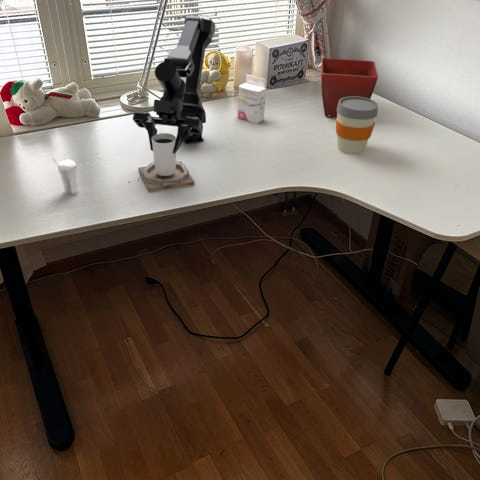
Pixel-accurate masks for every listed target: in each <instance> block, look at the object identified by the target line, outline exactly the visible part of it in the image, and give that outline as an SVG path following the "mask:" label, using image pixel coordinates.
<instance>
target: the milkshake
mask: <svg viewBox="0 0 480 480" xmlns="http://www.w3.org/2000/svg"><path fill="white" fill-rule="evenodd" d="M52 161H54V163H55V164H56V166H57V169H58V172H59V175H60V178H61V181H62V185H63V189H64V192H65V195H68V196H72V195H73V196H74V195H76V194H77V193H78V181H77V180H78V179H77V178H78V177H77V164H76V162H75V161H74V160H72V159H67V158H65V159H64V160H60V161H59V163H57V161H56V160H55V159H54V158H52Z"/></svg>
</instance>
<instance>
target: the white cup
mask: <svg viewBox="0 0 480 480" xmlns="http://www.w3.org/2000/svg"><path fill="white" fill-rule="evenodd" d="M176 137H177V136H175V135H174V134H171V133H167V132H166V133H165V132H164V133H157V134H156V135H154V136H153V137H152V146H153V151H152V153H153V162H154V163H155V172H156V173H157V174H158V175H161V176H169V175H172V174H174V173H175V172H176V162H177V153H176V154H174V153H173V150H174V146H175V141H176Z"/></svg>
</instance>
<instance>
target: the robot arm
mask: <svg viewBox="0 0 480 480" xmlns="http://www.w3.org/2000/svg"><path fill="white" fill-rule="evenodd" d="M215 32H216V23H215V22H214V21H213V20H212V18H209V17H201V16H198V15H197V16H196V15H195V16H193V15H188V16H186V17H185V18H184V26H183V29H182V32H181V34H180V36H179V37H180V38H179V40H178V42H177V45H176V47H175V48H173V49H172V50H170V51H169V53H168V54H167V57H165V58H163V59H164V60H163V61H162V62H161V63H159V64H157V66H156V67H155V69H154V76H155V78H156V79H157V81H158V83H159V84H160V87H161V88H162V89H163V93H162V96H161V97H160V99H154V100H153V113H155V115H157V116H152V115H151V114H150V112H149V111H143V110H142V111H140V110H136V111H135V112H134V113H133V116H132V120H133V122H134V123H135V124H136V125H137V126H138V127H139V128H143V129H145V130H146V131H147V135H148V141H149V142H148V143H149V147H150V148H149V149H150V151H152V152H153V146H152V137H153V136H154V135H156V134H158V129H157V128H156V125H160V126H167V127H168V126H169V127H176V128H177V133H176V136H175V137H176V141H175V146H174V150H173V153H174V154H176V155H177V152H178V151H179V149H180V148H181V146H182V145H183V143H184V144H190V143H191V144H192V143H200V142H204V141H205V140H204V137H203V133H204V131H203V130H204V125H203V124H206V123H207V116H206V115H207V113H206V110H205V108H204V106H203V100H202V98H201V95H200V88H201V87H200V86H201V81H202V75H203V69H204V60H205V52H206V49H207V48H208V46H209V45H210V44H211V43H212V42H213V41H212V40H213V36H214V35H215ZM183 78H185V81H184V79H183Z"/></svg>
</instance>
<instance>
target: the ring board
mask: <svg viewBox="0 0 480 480" xmlns="http://www.w3.org/2000/svg"><path fill="white" fill-rule="evenodd" d="M137 168H138V173H139V174H140V177H141V179H142V180H143V183H144V185H145V188H146V190H147V192H149V193H151V192H156V191H164V190H169V189H176V188H183V187H190V186H194V185H195V180H194V179H193V177H192V175H191V174H190V171H189V169H188V168H187V166H186V164H185V163H183V162H182V161H176V172H175V173H174V174H172V175H169V176H161V175H158V174H157V173H156V172H155V163H154V161H152V162H150V163H149V164H148V165H146V166H140V167H137Z"/></svg>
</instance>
